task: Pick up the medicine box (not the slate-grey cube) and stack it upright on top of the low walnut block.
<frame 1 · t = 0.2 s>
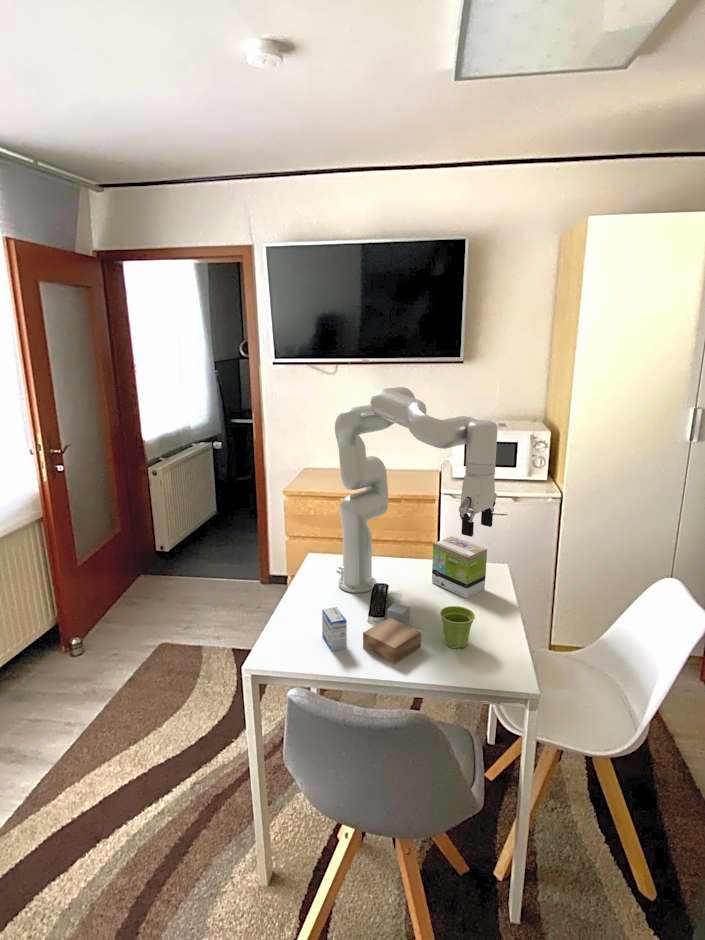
hand: (477, 530, 153), 31 cm above the table, fingers open, 9 cm apart
walnut block: (391, 648, 155), on the table
tea box: (457, 587, 190), on the table
medicine box: (334, 643, 157), on the table
plant pot: (455, 643, 157), on the table
grey cube: (398, 623, 167), on the table
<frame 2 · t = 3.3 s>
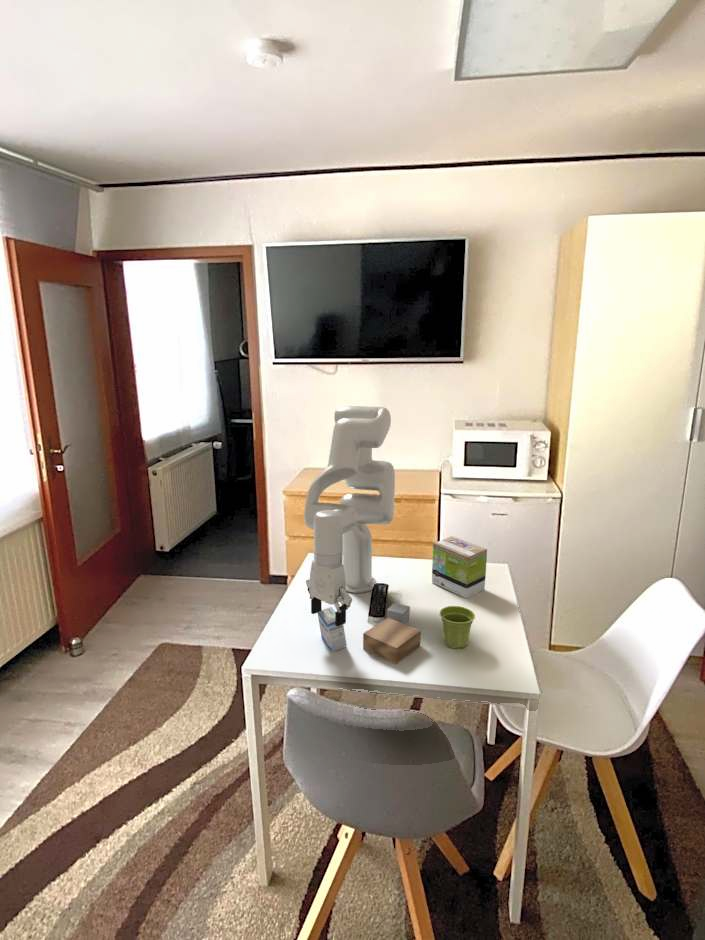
hand: (328, 618, 153), 8 cm above the table, fingers open, 9 cm apart
medicine box: (334, 643, 157), on the table, touching gripper
everything else where it was.
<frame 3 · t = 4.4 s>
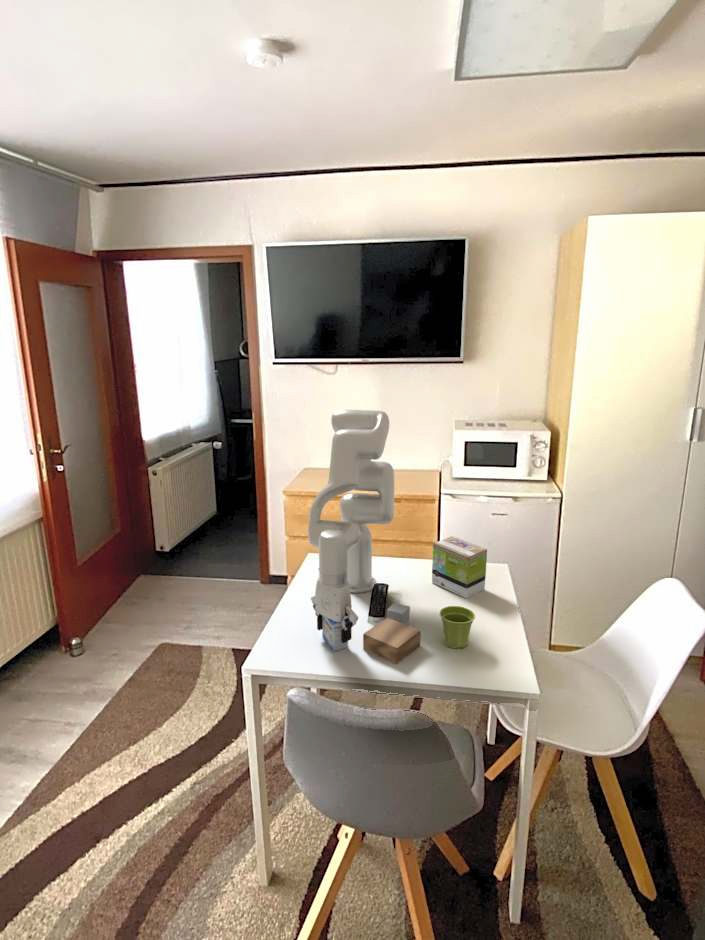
hand: (334, 634, 156), 3 cm above the table, fingers closed on medicine box, 9 cm apart
medicine box: (335, 643, 157), on the table, touching gripper
everything else where it was.
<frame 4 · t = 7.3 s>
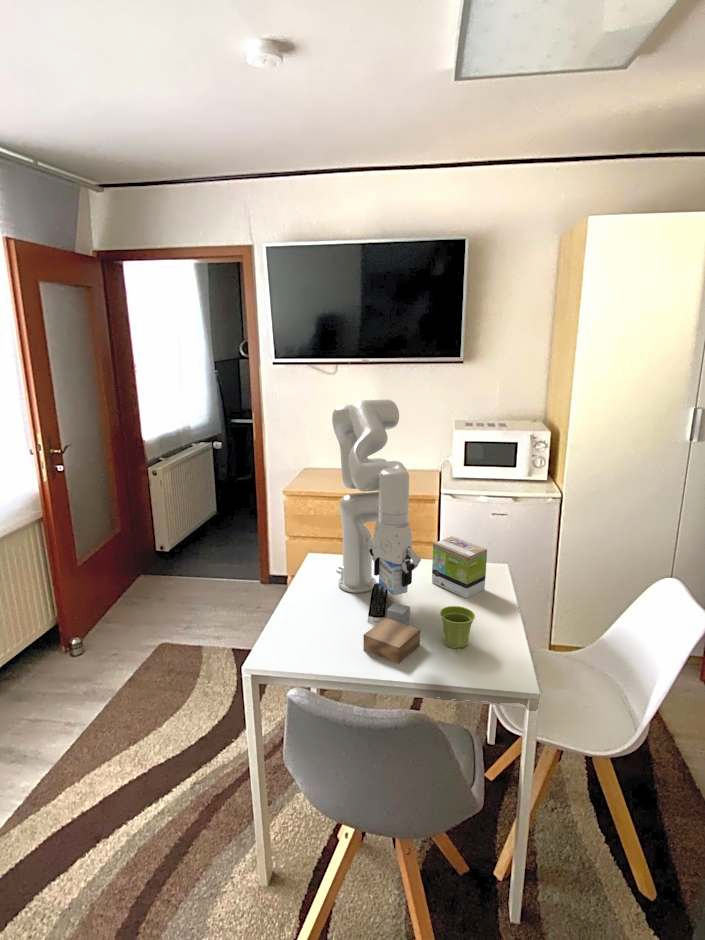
hand: (392, 579, 150), 20 cm above the table, fingers closed on medicine box, 9 cm apart
medicine box: (392, 588, 151), point 17 cm above the table, touching gripper
everything else where it was.
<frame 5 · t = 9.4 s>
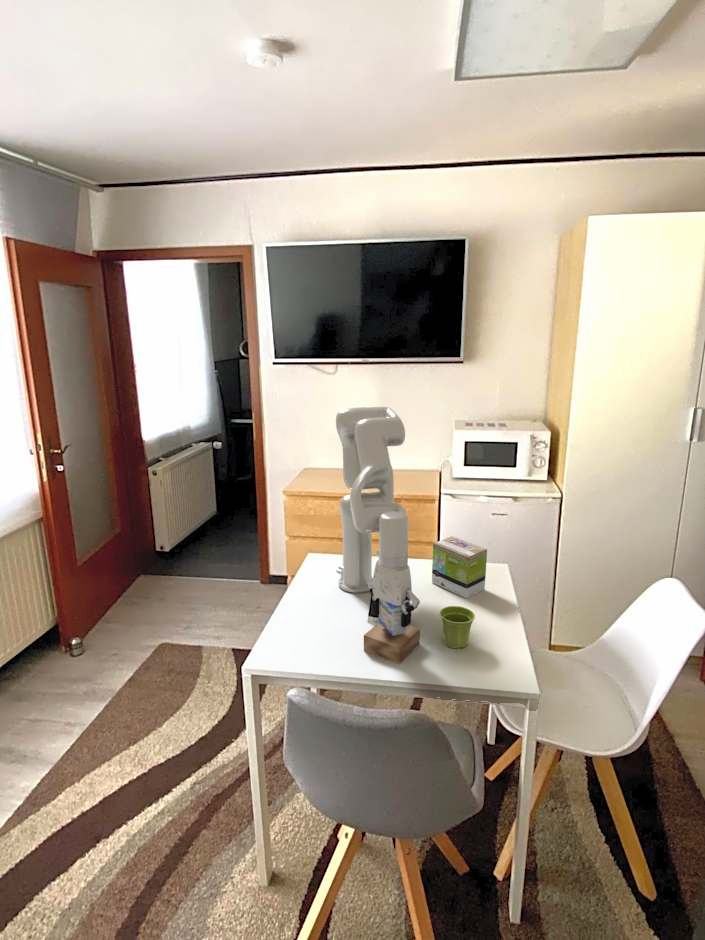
hand: (392, 619, 153), 8 cm above the table, fingers closed on medicine box, 9 cm apart
medicine box: (392, 628, 154), point 6 cm above the table, touching gripper
everything else where it was.
when the fingers open (8 cm above the table, at t = 10.5 s): medicine box stays where it is, resting on walnut block.
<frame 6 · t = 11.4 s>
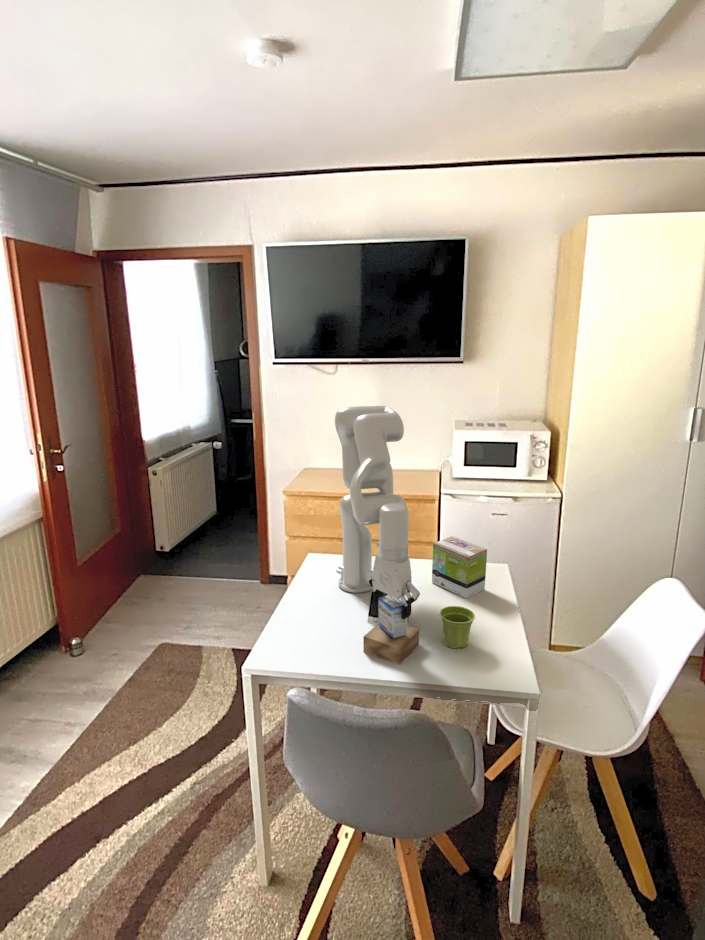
hand: (391, 610, 153), 11 cm above the table, fingers open, 9 cm apart
walnut block: (391, 649, 154), on the table, touching medicine box
medicine box: (393, 631, 154), point 5 cm above the table, touching gripper, walnut block
everything else where it was.
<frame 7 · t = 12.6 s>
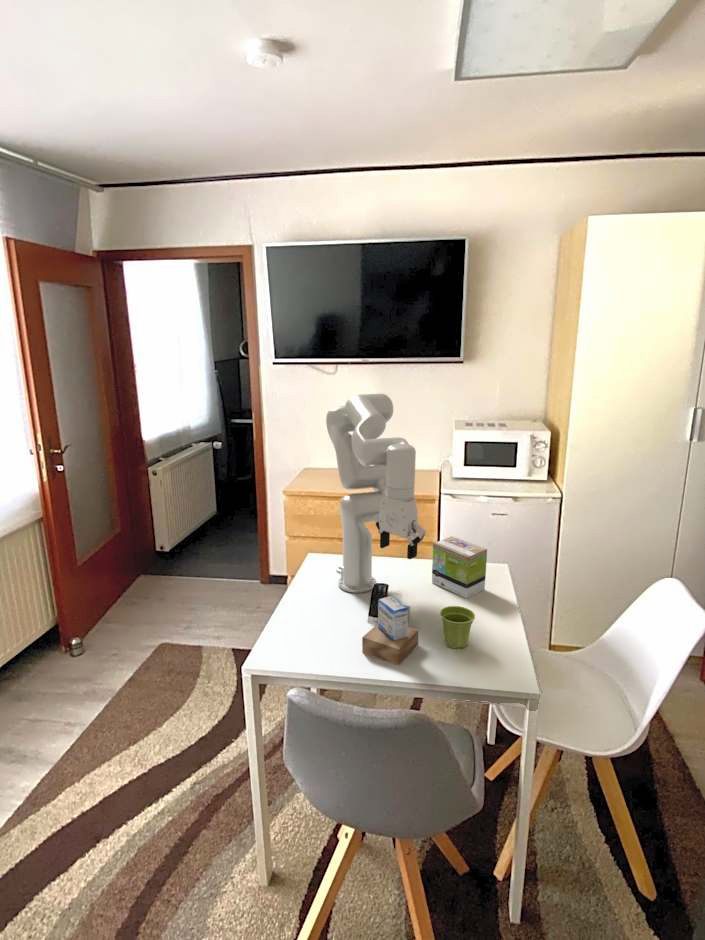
hand: (398, 552, 154), 25 cm above the table, fingers open, 9 cm apart
medicine box: (392, 633, 153), point 4 cm above the table, touching walnut block
everything else where it was.
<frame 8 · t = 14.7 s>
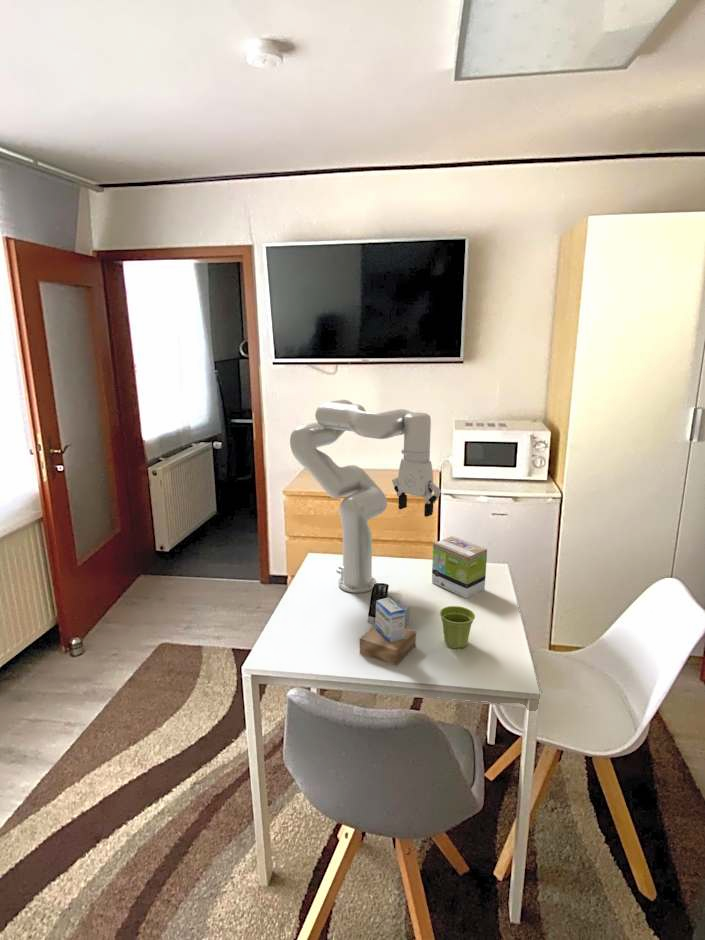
hand: (415, 511, 170), 30 cm above the table, fingers open, 9 cm apart
at the end: medicine box inside the target area on the walnut block (0.6 cm from its centre), point 4.8 cm above the walnut block's base; medicine box tilted 0°; the gripper is holding nothing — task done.
